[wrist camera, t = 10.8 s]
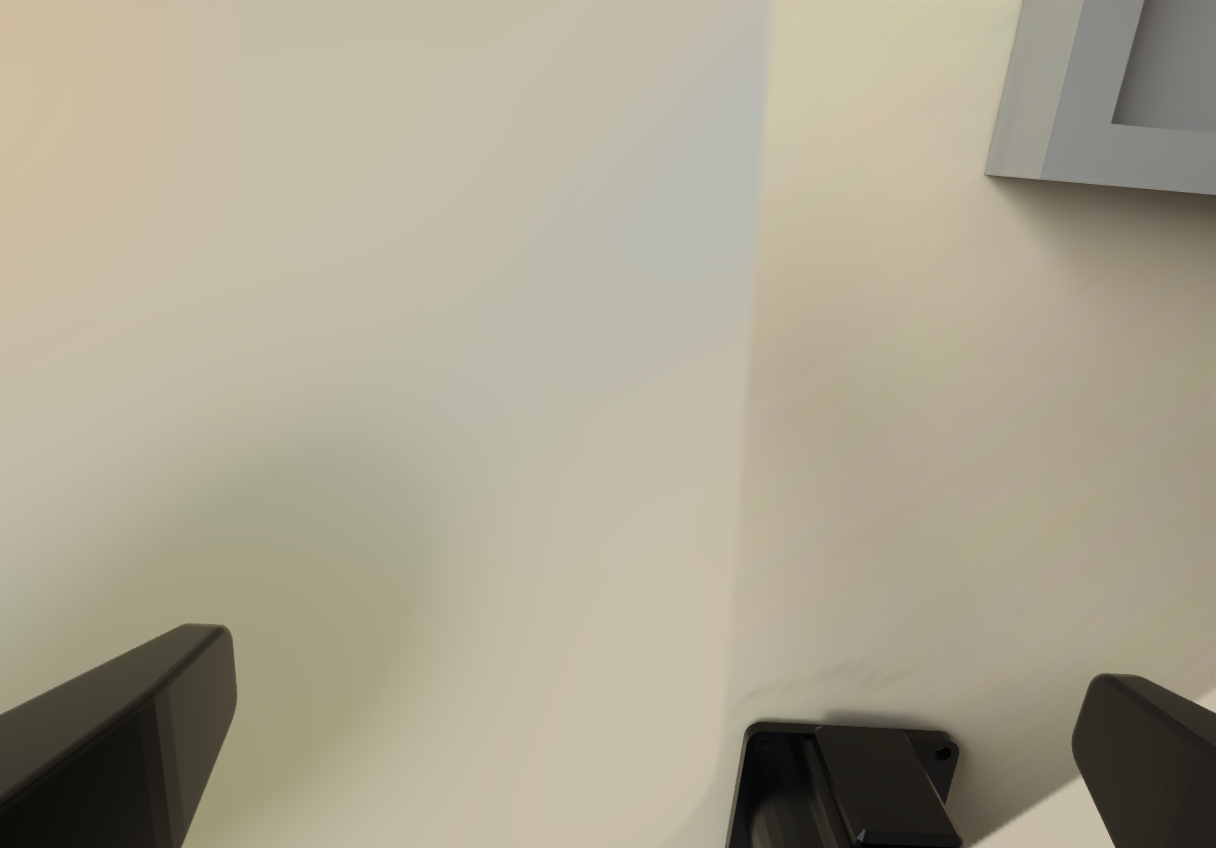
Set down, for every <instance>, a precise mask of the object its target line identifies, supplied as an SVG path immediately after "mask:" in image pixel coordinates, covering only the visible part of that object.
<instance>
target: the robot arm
mask: <svg viewBox="0 0 1216 848" xmlns="http://www.w3.org/2000/svg"><path fill="white" fill-rule="evenodd" d="M236 703H237V684H236V672H235V660H234V649H233V639H232V635H231V632H230V630H229V629H228V628H227V627H225V626H224V625H215V624H197V623H187V624H183V625H180V626H179V627H177V628H174V629H172V630H170V631H169V632H166V633H164V634H162V635H160V636H158V637H156V638H154V639H152V640H150V641H148V642H146V643H144V644H142V645H140V646H138V647H136V648H134V649H132V650H130V651H128V652H126V653H124V654H122V655H120V656H118V657H116V658H114V659H112V660H110V661H108V662H106V663H104V664H102V665H100V666H97V667H95V668H93V669H91V670H89V671H87V672H85V673H83V674H81V675H79V676H77V677H75V678H73V679H71V680H69V681H67V682H65V683H63V684H61V685H59V686H57V687H55V688H53V689H51V690H49V691H47V692H45V693H43V694H41V695H39V696H37V697H35V698H33V699H31V700H29V701H27V702H25V703H23V704H21V705H19V706H17V707H15V708H13V709H11V710H8V711H6V712H5V713H3V714H0V848H181V847H182V845H183V843H184V840H185V838H186V835H187V833H188V830H189V828H190V825H191V823H192V820H193V818H194V815H195V813H196V810H197V808H198V805H199V803H200V800H201V798H202V795H203V793H204V790H205V787H206V785H207V783H208V780H209V778H210V775H211V773H212V770H213V767H214V765H215V763H216V760H217V757H218V755H219V752H220V750H221V747H222V745H223V742H224V740H225V737H226V735H227V732H228V730H229V727H230V725H231V722H232V720H233V717H234V713H235V709H236ZM760 738H767V740H765V741H764V742H756V741H757V740H758V739H760ZM941 747H944V748H943V749H942V750H940V751H936V750H937V749H939V748H941ZM1072 751H1073V755H1074V759H1075V762H1076V764H1077V766H1078V768H1079V770H1080V773H1081V775H1082V777H1083V779H1084V781H1085V783H1086V786H1087V788H1088V790H1089V792H1090V794H1091V796H1092V799H1093V801H1094V803H1095V805H1096V807H1097V809H1098V811H1099V814H1100V816H1101V818H1102V820H1103V822H1104V824H1105V827H1106V829H1107V831H1108V833H1109V835H1110V837H1111V839H1112V842H1113V844H1114V846H1115V848H1216V713H1214V712H1212V711H1210V710H1208V709H1206V708H1204V707H1202V706H1200V705H1198V704H1196V703H1194V702H1192V701H1190V700H1188V699H1186V698H1184V697H1182V696H1180V695H1178V694H1176V693H1174V692H1172V691H1170V690H1168V689H1166V688H1164V687H1162V686H1160V685H1157V684H1155V683H1153V682H1151V681H1149V680H1147V679H1145V678H1143V677H1141V676H1137V675H1129V674H1109V673H1102V674H1099V675H1097V676H1095V677H1094V678H1093V679H1092V681H1091V682H1090V684H1089V686H1088V689H1087V692H1086V695H1085V698H1084V701H1083V704H1082V707H1081V710H1080V713H1079V716H1078V719H1077V722H1076V725H1075V728H1074V731H1073V735H1072ZM958 756H959V748H958V746H957V744H956V743H955V741H954V739H953V738H952V736H951V735H950V734H948V733H947V732H942V731H927V730H908V729H888V728H869V727H850V726H830V725H811V724H791V723H772V722H759V723H755V724H753V725H750V726H749V727H748V728H747V729H746V731H745V734H744V738H743V744H742V750H741V756H740V762H739V768H738V774H737V779H736V785H735V791H734V797H733V803H732V809H731V815H730V821H729V827H728V832H727V838H726V844H725V848H963V847H962V845H963V840H962V837H961V835H960V833H959V831H958V830H957V828H956V826H955V824H954V822H953V820H952V818H951V817H950V815H949V813H948V811H947V809H946V807H945V803H946V799H947V796H948V792H949V789H950V785H951V781H952V778H953V774H954V771H955V767H956V764H957V760H958Z"/></svg>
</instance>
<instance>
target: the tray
mask: <svg viewBox="0 0 1216 848" xmlns="http://www.w3.org/2000/svg"><path fill="white" fill-rule="evenodd" d="M984 175H995V176H1006V177H1018V178H1029V179H1041V180H1052V181H1063V182H1075V183H1086V184H1097V185H1109V186H1120V187H1132V188H1143V189H1154V190H1166V191H1177V192H1188V193H1200V194H1211V195H1216V0H1024V1H1023V6H1022V10H1021V15H1020V19H1019V23H1018V28H1017V32H1016V37H1015V41H1014V45H1013V50H1012V54H1011V59H1010V63H1009V67H1008V72H1007V76H1006V81H1005V85H1004V90H1003V94H1002V98H1001V103H1000V107H999V112H998V116H997V120H996V125H995V129H994V134H993V138H992V142H991V147H990V151H989V156H988V160H987V165H986V169H985V173H984Z"/></svg>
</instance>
